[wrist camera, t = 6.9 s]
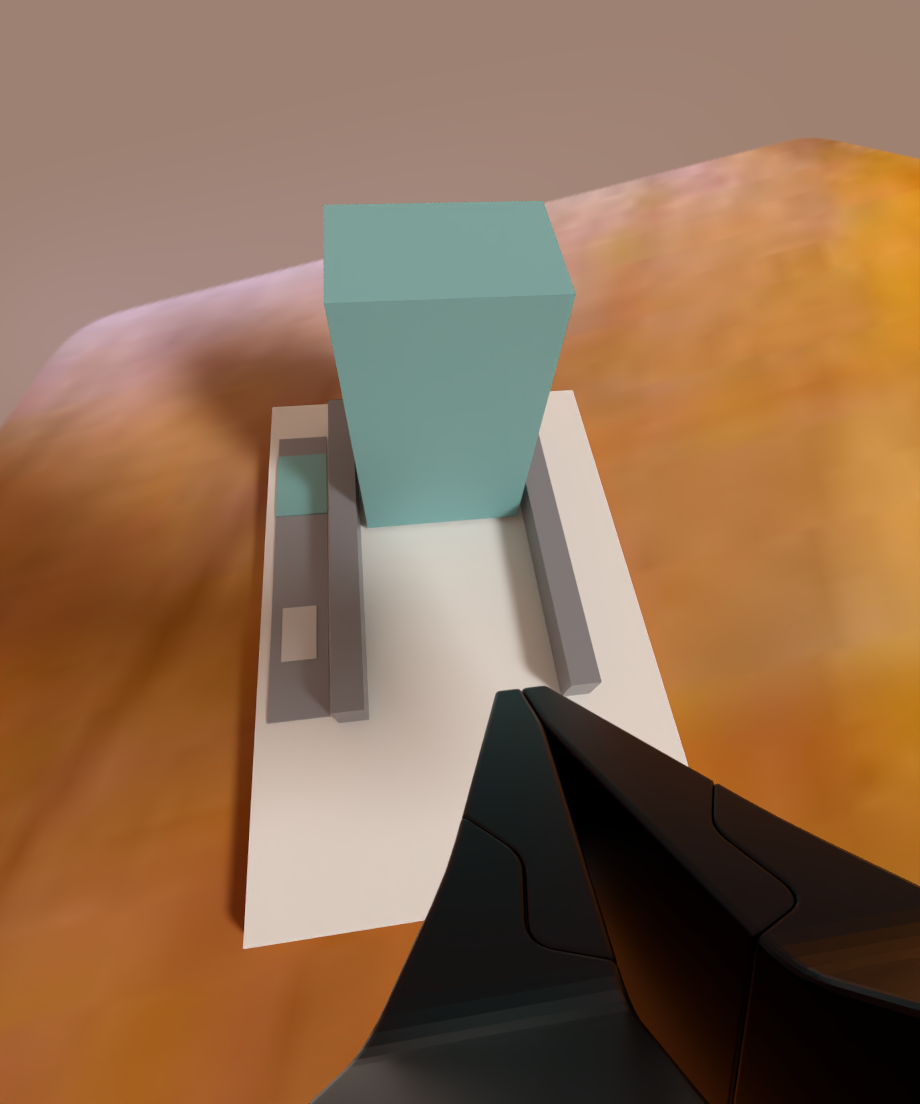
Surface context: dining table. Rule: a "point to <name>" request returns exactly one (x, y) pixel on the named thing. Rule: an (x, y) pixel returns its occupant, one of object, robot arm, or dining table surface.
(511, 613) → the white rail base plate
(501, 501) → the switch tab
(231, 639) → the dining table surface
